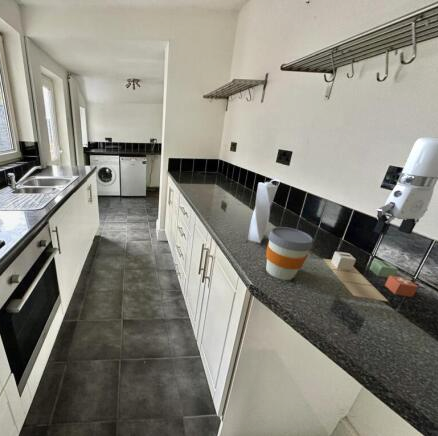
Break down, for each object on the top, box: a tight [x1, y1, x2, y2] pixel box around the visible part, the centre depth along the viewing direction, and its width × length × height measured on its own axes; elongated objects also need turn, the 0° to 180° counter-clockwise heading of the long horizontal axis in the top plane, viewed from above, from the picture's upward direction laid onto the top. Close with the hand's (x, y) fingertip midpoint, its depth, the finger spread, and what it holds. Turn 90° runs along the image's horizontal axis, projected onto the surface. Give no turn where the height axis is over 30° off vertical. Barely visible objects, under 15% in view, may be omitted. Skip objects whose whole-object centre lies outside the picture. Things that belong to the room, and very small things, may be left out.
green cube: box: [369, 259, 399, 279], centre depth 82 cm, size 5×5×5 cm
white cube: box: [331, 251, 357, 270], centre depth 85 cm, size 5×5×5 cm
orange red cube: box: [384, 275, 419, 298], centre depth 73 cm, size 5×5×5 cm
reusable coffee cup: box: [265, 226, 314, 281], centre depth 79 cm, size 13×13×15 cm
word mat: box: [322, 258, 390, 303], centre depth 79 cm, size 9×22×1 cm, turn 166°
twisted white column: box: [247, 178, 281, 244], centre depth 100 cm, size 8×8×28 cm
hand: (391, 232), depth 75 cm, fingers open, 9 cm apart
